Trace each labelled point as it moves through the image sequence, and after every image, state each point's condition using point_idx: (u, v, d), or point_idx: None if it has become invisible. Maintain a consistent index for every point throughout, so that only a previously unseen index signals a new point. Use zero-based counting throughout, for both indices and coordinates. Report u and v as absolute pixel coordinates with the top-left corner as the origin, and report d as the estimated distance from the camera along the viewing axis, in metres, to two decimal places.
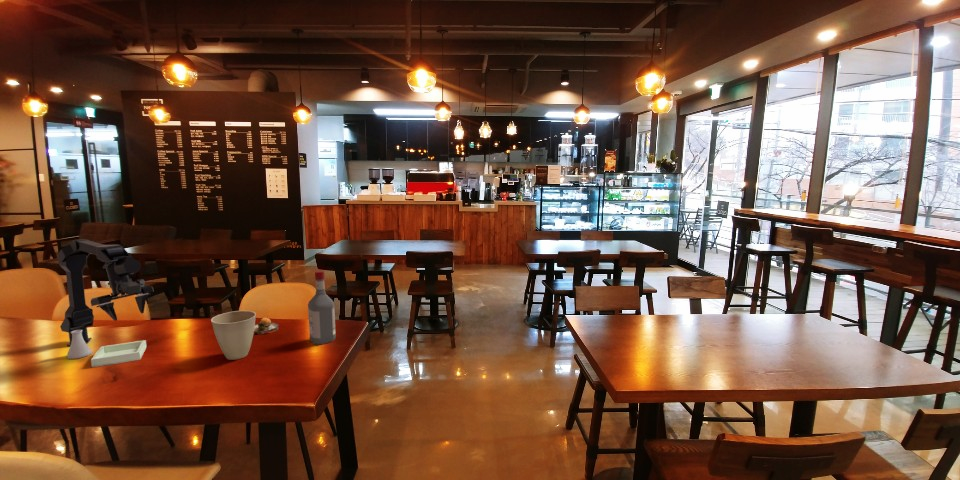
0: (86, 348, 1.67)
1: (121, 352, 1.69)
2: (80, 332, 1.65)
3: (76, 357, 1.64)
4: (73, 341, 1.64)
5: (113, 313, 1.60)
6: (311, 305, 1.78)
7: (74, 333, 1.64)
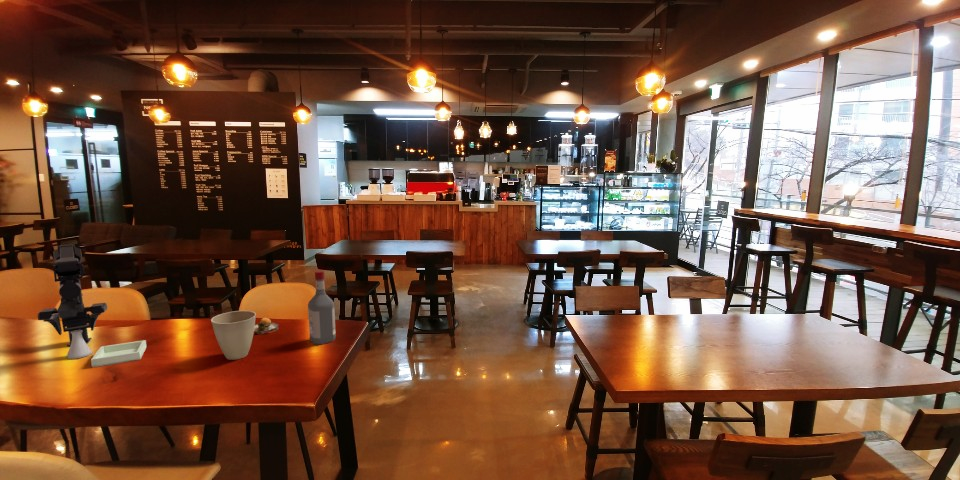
0: (86, 348, 1.67)
1: (121, 352, 1.69)
2: (80, 332, 1.65)
3: (76, 357, 1.64)
4: (73, 341, 1.64)
5: (56, 328, 1.62)
6: (311, 305, 1.78)
7: (74, 333, 1.64)
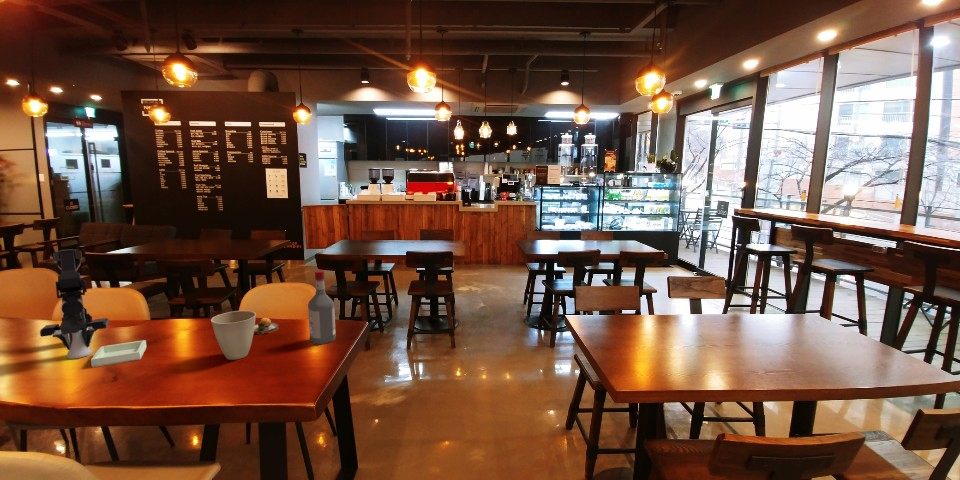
0: (86, 348, 1.67)
1: (121, 352, 1.69)
2: (80, 332, 1.65)
3: (76, 357, 1.64)
4: (73, 341, 1.64)
5: (64, 343, 1.63)
6: (311, 305, 1.78)
7: (74, 333, 1.64)
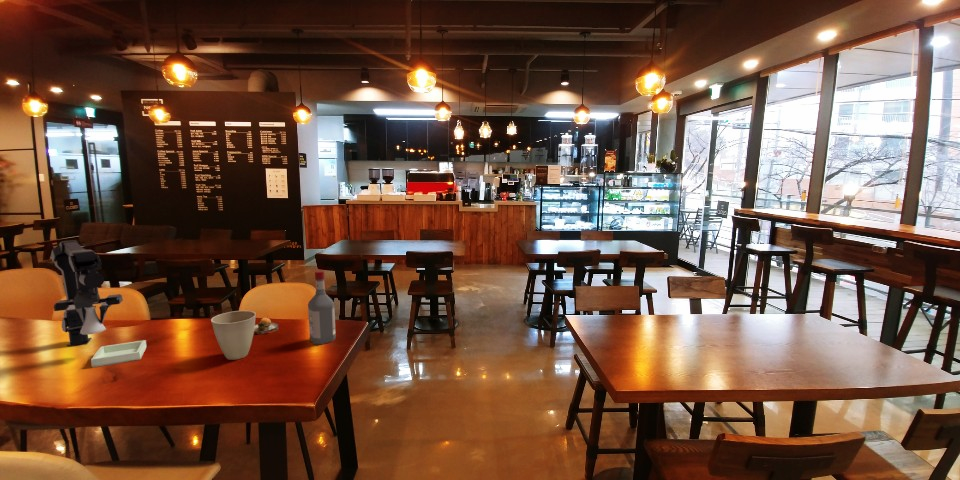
0: (99, 325, 1.64)
1: (121, 352, 1.69)
2: (93, 308, 1.63)
3: (90, 333, 1.61)
4: (87, 317, 1.62)
5: (78, 319, 1.61)
6: (311, 305, 1.78)
7: (87, 309, 1.62)
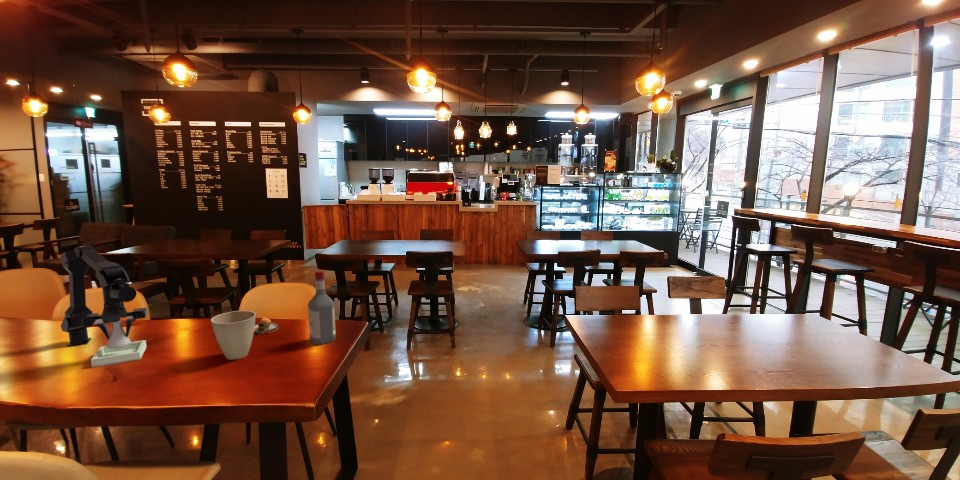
0: (125, 338, 1.65)
1: (121, 352, 1.69)
2: (120, 322, 1.64)
3: (116, 347, 1.62)
4: (113, 331, 1.63)
5: (105, 333, 1.62)
6: (311, 305, 1.78)
7: (114, 323, 1.62)
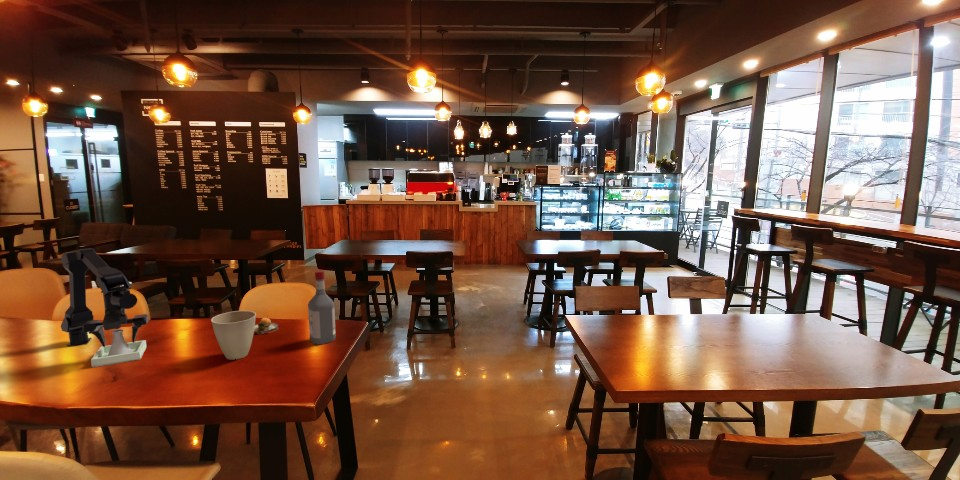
0: (127, 348, 1.66)
1: None
2: (121, 332, 1.65)
3: None
4: (114, 341, 1.63)
5: (100, 340, 1.61)
6: (311, 305, 1.78)
7: (115, 333, 1.63)
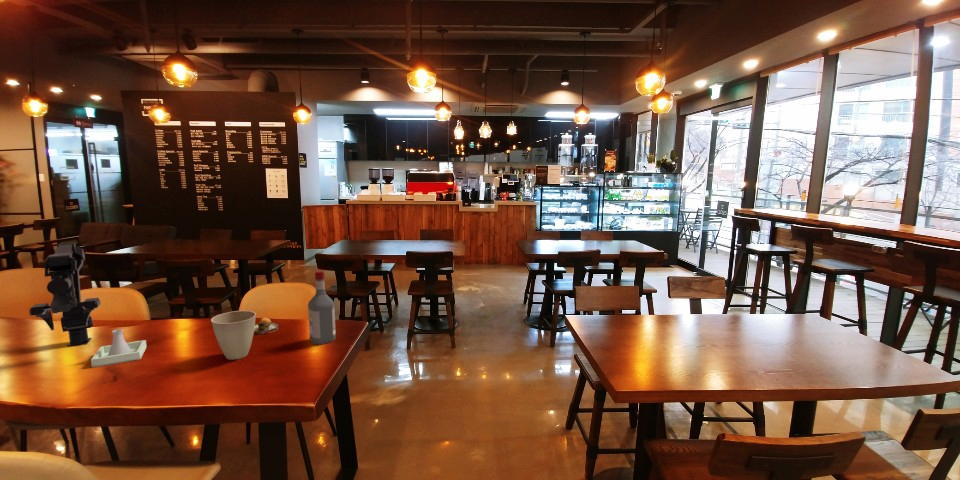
0: (127, 348, 1.66)
1: None
2: (121, 332, 1.65)
3: None
4: (114, 341, 1.63)
5: (48, 324, 1.60)
6: (311, 305, 1.78)
7: (115, 333, 1.63)
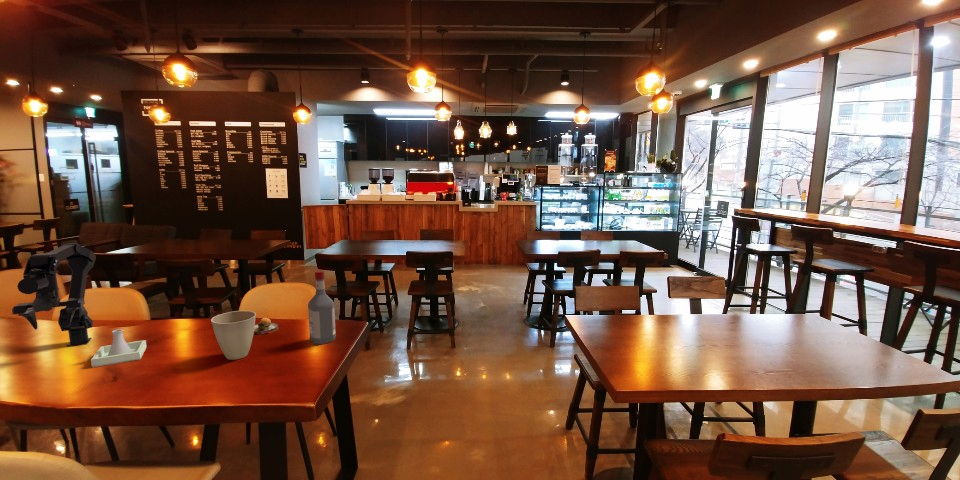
0: (127, 348, 1.66)
1: None
2: (121, 332, 1.65)
3: None
4: (114, 341, 1.63)
5: (31, 323, 1.59)
6: (311, 305, 1.78)
7: (115, 333, 1.63)
